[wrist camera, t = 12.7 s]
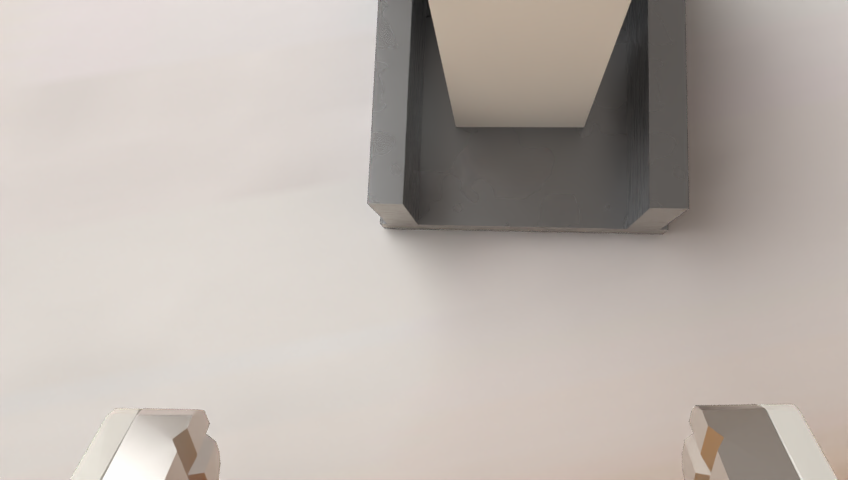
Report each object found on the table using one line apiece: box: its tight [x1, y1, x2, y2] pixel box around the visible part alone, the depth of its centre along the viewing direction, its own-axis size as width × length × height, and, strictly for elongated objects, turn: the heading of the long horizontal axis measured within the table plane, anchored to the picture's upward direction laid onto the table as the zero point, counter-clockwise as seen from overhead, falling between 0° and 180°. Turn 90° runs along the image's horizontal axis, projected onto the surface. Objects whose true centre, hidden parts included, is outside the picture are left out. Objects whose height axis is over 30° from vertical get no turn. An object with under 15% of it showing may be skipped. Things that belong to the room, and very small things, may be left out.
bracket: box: [367, 0, 689, 234], centre depth 24 cm, size 11×12×8 cm
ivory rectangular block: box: [428, 0, 631, 127], centre depth 21 cm, size 5×4×11 cm
